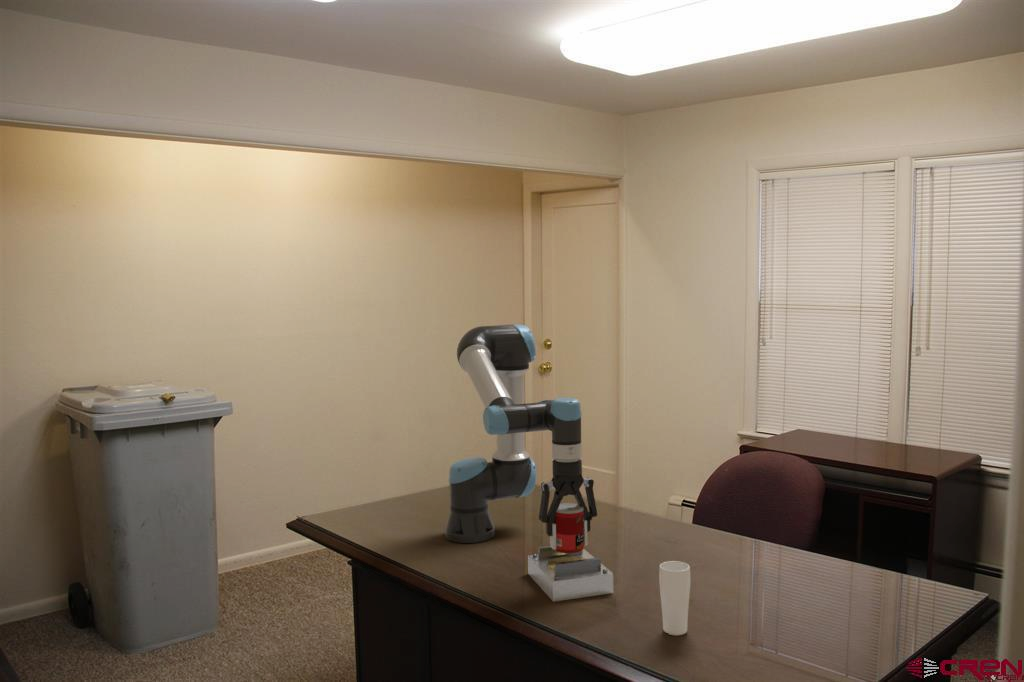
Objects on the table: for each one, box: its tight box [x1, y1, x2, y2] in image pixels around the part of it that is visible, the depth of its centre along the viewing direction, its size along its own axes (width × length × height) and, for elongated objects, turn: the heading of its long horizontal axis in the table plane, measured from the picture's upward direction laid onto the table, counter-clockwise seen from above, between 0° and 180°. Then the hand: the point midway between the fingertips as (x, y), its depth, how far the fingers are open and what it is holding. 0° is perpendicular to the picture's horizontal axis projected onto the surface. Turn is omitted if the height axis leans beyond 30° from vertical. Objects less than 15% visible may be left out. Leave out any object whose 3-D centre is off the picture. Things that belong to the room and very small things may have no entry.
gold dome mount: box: [527, 545, 614, 602], centre depth 214 cm, size 20×16×8 cm
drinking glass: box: [658, 560, 691, 636], centre depth 184 cm, size 7×7×15 cm
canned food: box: [553, 502, 585, 553], centre depth 213 cm, size 8×8×11 cm
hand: (568, 545), depth 213 cm, fingers closed on canned food, 8 cm apart
